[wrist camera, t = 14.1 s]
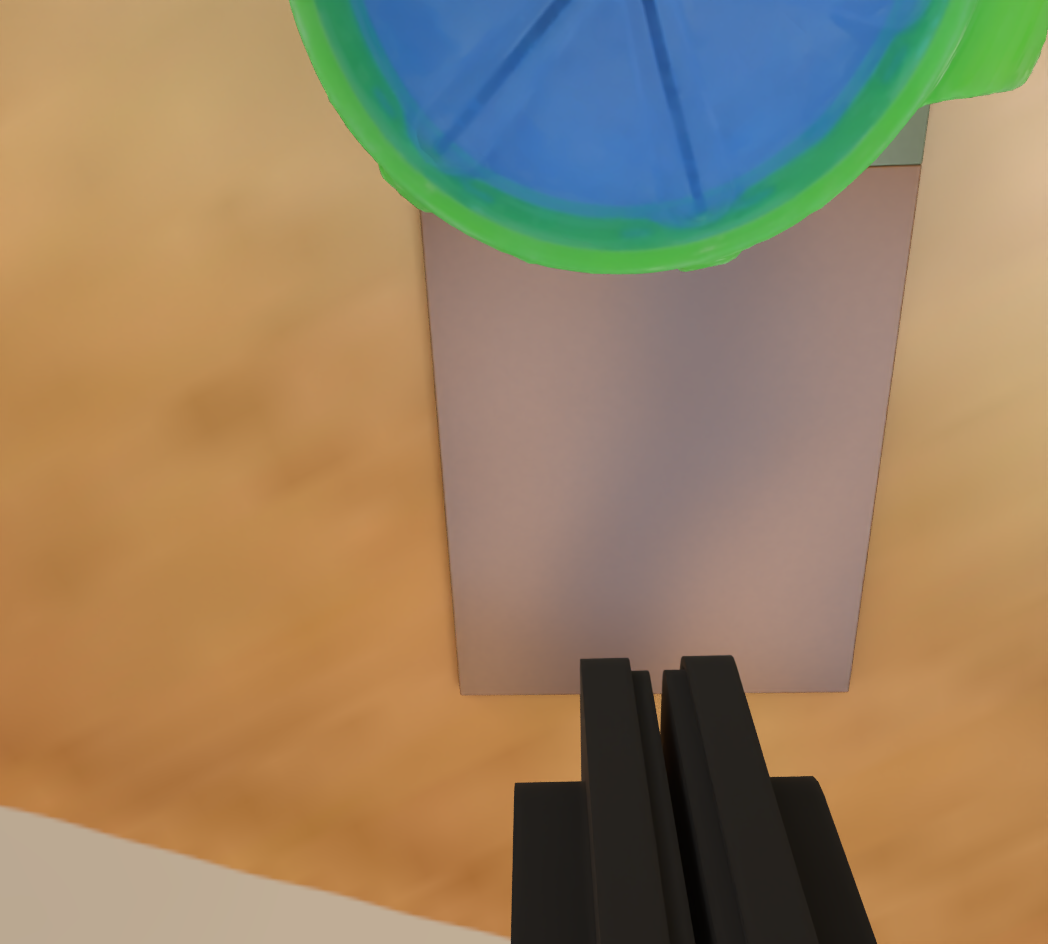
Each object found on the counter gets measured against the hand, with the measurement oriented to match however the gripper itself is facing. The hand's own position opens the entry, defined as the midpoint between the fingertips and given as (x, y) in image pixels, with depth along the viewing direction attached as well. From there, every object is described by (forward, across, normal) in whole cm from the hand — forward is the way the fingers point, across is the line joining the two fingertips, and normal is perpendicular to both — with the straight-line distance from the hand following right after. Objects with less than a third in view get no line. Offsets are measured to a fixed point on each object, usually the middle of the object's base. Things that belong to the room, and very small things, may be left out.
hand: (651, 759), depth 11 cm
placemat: (+18, -2, 0) cm, 18 cm away
